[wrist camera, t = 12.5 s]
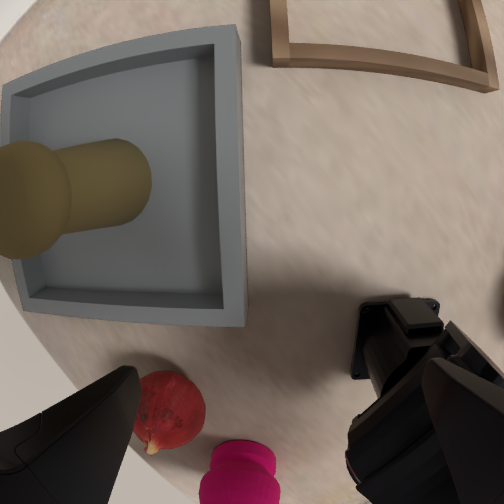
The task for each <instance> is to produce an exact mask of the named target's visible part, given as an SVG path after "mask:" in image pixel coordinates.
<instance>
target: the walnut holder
mask: <svg viewBox="0 0 504 504" xmlns="http://www.w3.org/2000/svg"><path fill="white" fill-rule="evenodd" d="M458 3H459V6H460V10H461V14H462V18H463V23H464V27H465V32H466V36H467V41H468V46H469V52H470V58H471V64H472V69H471V68H468V67H464V66H461V65H457V64H453V63H449V62H445V61H440V60H436V59H432V58H427V57H422V56H417V55H412V54H406V53H400V52H394V51H387V50H380V49H372V48H364V47H354V46H343V45H329V44H307V43H289V31H288V16H287V3H286V0H270V15H271V35H272V56H273V68H277V67H296V68H328V69H344V70H356V71H367V72H376V73H384V74H392V75H399V76H406V77H412V78H418V79H424V80H429V81H434V82H439V83H444V84H449V85H453V86H458V87H462V88H466V89H470V90H474V91H478V92H481V93H488V92H492V91H496V90H499V82H498V75H497V69H496V63H495V57H494V52H493V47H492V42H491V37H490V33H489V29H488V25H487V21H486V17H485V13H484V10H483V6H482V3H481V0H458Z"/></svg>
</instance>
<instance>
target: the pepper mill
mask: <svg viewBox="0 0 504 504" xmlns="http://www.w3.org/2000/svg"><path fill="white" fill-rule="evenodd" d="M275 472H276V457H275V455H274V453H273V452H272V451H271V450H270V449H269V448H267V447H266V446H264V445H261V444H259V443H256V442H251V441H246V440H235V441H228V442H225V443H223V444H221V445H219V446H218V447H216V448H215V449H214V451H213V453H212V458H211V462H210V471H209V472H207V473H206V474H205V475H204V476H203V478H202V480H201V482H200V489H199V499H200V504H279V500H280V485H279V483H278V482H277V480H276V479H275V478H274V475H275Z"/></svg>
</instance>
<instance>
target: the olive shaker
mask: <svg viewBox="0 0 504 504" xmlns="http://www.w3.org/2000/svg"><path fill="white" fill-rule="evenodd" d="M151 189H152V175H151V169H150V166H149V164H148V161H147V158H146V157H145V156H144V154H143V153H142V152H141V150H140V149H139V148H138V147H137V146H135V145H134V144H132V143H131V142H129V141H127V140H122V139H118V138H115V139H108V140H102V141H97V142H91V143H86V144H81V145H76V146H71V147H66V148H62V149H57V150H53V151H52V150H51V149H49V148H48V147H47V146H45V145H42V144H40V143H36V142H31V141H16V142H13V143H10V144H7V145H4V146H2V147H0V255H2V256H4V257H7V258H9V259H31V258H33V257H35V256H37V255H39V254H41V253H43V252H45V251H47V250H49V249H50V248H51V247H52V245H53V244H54V243H55V242H56V241H57V240H58V239H59V238H60V236H61V235H63V234H69V233H75V232H81V231H87V230H94V229H100V228H107V227H113V226H120V225H123V224H126V223H128V222H130V221H133V220H134V219H135V218H136V217H137V216H138V215H139V214H140V213H141V212H142V211H143V209H144V208H145V206H146V204H147V202H148V201H149V197H150V193H151Z"/></svg>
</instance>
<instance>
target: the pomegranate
mask: <svg viewBox="0 0 504 504" xmlns="http://www.w3.org/2000/svg"><path fill="white" fill-rule="evenodd" d="M140 383H141V387H142V394H141V398H140V402H139V407H138V411H137V415H136V419H135V424H134V428H133V431H134V433H135V434H136V435H137V437H138V438H139V439H140V440H141V441H142V442H144V443H145V448H144V450H145V452H146V453H148V454H149V455H151V456H152V455H153V454H155V453H157V452H158V450H159V449H173V448H176V447H179V446H182V445H184V444H186V443H188V442H190V441H191V440H192V439H193V438H194V437H195V436H196V435H197V434H198V433H199V432H200V431H201V429H202V427H203V424H204V420H205V403H204V400H203V398H202V395H201V393H200V390H199V389H198V388H197V387H196V386H195V384H194V383H193V382H192V381H190V380H189V379H187V378H186V377H184V376H183V375H180V374H177V373H174V372H171V371H156V372H153V373H150V374H148V375H147V376H145V377H143V378H141V379H140Z"/></svg>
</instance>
